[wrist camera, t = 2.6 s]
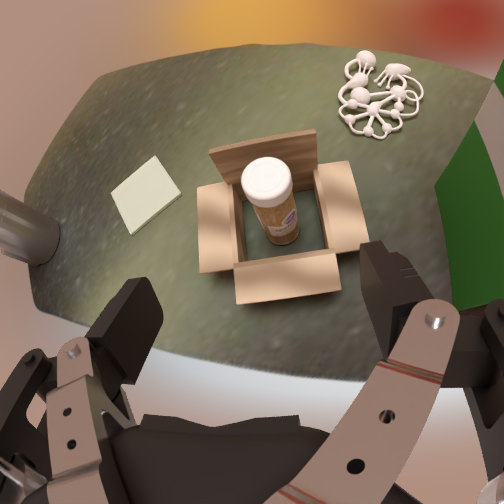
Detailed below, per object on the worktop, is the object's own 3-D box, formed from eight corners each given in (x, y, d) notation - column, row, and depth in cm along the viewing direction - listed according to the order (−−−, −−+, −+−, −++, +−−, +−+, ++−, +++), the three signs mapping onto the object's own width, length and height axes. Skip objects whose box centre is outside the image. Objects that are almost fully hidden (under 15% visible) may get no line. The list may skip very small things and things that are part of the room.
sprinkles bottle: (291, 251, 37) (277, 206, 24) (259, 238, 38) (231, 189, 26) (305, 219, 38) (298, 163, 25) (274, 208, 39) (253, 149, 27)
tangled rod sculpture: (403, 160, 39) (411, 146, 35) (317, 123, 42) (318, 107, 38) (423, 86, 41) (429, 72, 37) (353, 57, 44) (355, 42, 40)
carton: (369, 290, 34) (394, 268, 22) (216, 312, 37) (173, 299, 26) (345, 180, 38) (352, 124, 27) (210, 203, 41) (174, 158, 30)
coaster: (132, 235, 43) (130, 234, 42) (112, 194, 46) (110, 192, 46) (182, 194, 43) (180, 192, 42) (156, 157, 46) (155, 155, 46)
